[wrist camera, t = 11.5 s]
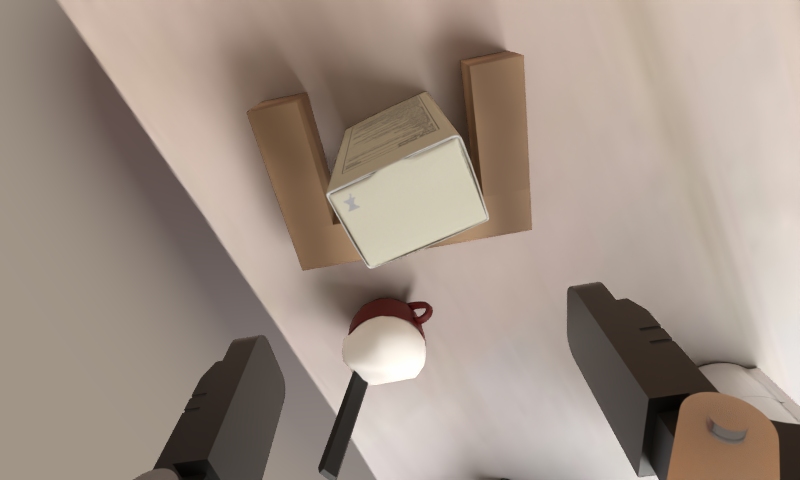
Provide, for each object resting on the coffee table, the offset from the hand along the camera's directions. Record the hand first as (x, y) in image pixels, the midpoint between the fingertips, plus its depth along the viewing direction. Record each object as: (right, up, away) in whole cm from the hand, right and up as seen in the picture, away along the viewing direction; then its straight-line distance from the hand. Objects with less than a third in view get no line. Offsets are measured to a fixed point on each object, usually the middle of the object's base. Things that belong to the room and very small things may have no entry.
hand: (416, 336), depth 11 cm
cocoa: (-2, -4, +25) cm, 25 cm away
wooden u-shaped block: (0, +8, +19) cm, 20 cm away
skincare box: (0, +10, +18) cm, 20 cm away
